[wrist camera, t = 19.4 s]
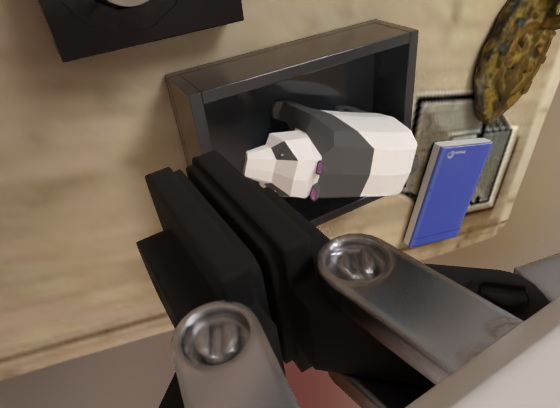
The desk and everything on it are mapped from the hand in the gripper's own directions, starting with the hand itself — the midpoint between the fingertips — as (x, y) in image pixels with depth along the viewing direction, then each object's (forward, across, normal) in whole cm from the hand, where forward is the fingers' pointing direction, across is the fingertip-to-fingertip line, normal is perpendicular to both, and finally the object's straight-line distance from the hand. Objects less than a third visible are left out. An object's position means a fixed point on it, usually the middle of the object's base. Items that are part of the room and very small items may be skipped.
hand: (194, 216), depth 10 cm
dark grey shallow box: (+20, -14, +10) cm, 27 cm away
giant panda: (+20, -14, +10) cm, 26 cm away
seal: (+20, -40, +10) cm, 46 cm away
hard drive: (+20, -33, +25) cm, 46 cm away
